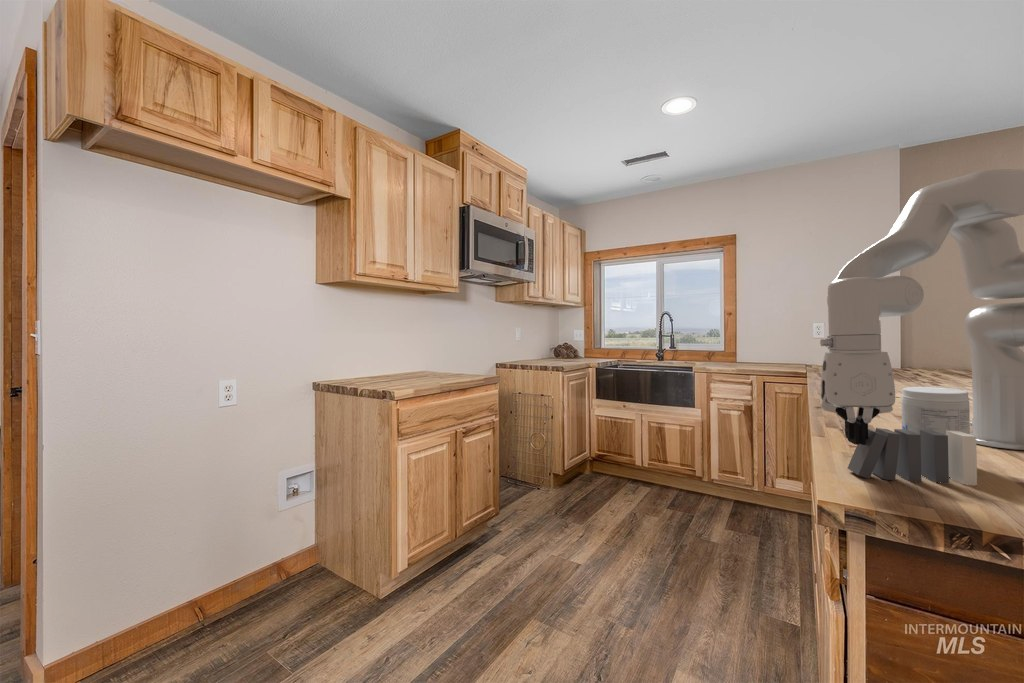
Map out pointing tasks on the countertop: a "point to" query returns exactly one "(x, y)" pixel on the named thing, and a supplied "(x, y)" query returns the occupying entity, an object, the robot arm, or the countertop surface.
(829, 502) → the countertop surface
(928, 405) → the supplement tub
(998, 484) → the countertop surface
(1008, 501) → the countertop surface
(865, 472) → the domino
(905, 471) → the domino
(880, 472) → the domino
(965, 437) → the domino
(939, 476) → the domino
